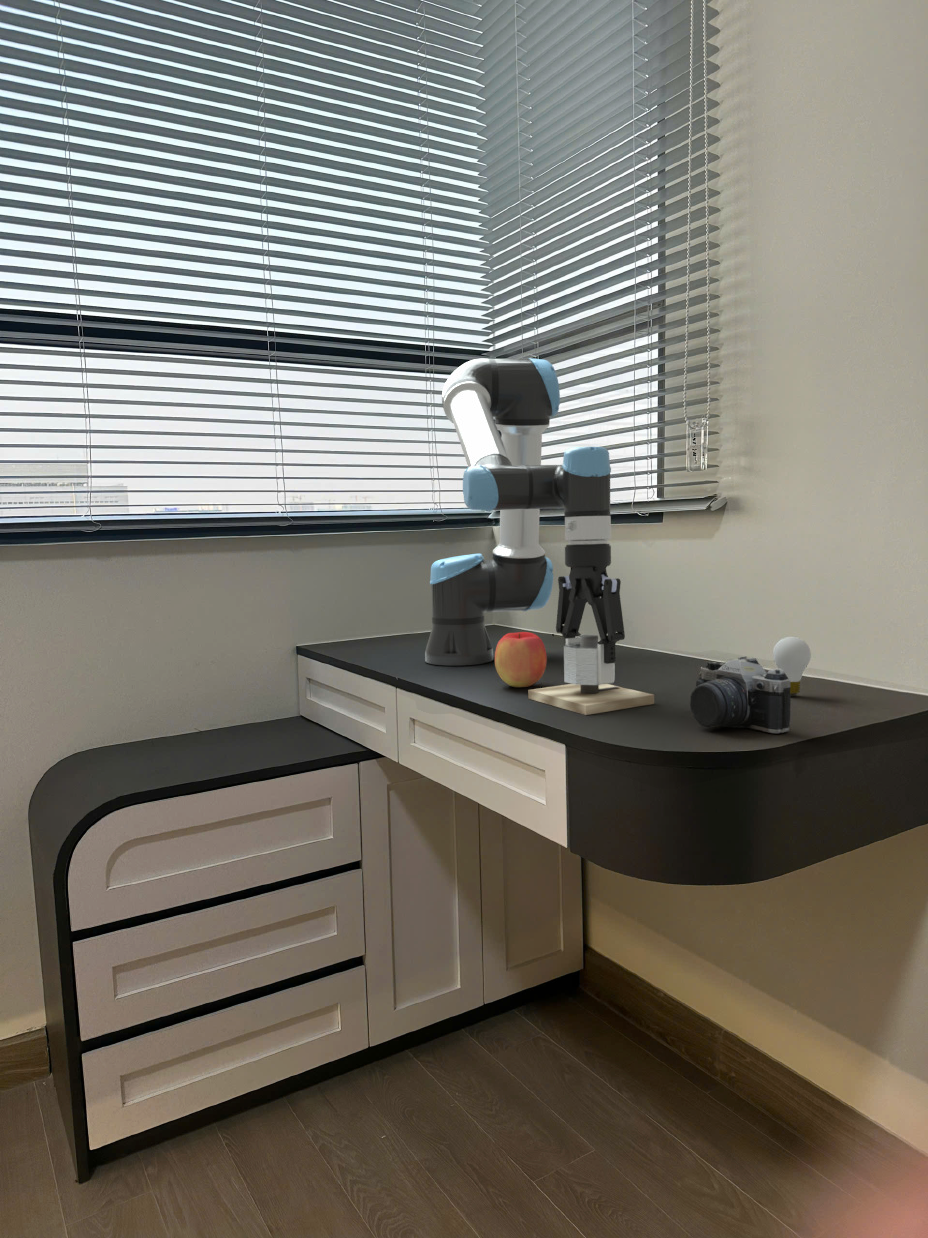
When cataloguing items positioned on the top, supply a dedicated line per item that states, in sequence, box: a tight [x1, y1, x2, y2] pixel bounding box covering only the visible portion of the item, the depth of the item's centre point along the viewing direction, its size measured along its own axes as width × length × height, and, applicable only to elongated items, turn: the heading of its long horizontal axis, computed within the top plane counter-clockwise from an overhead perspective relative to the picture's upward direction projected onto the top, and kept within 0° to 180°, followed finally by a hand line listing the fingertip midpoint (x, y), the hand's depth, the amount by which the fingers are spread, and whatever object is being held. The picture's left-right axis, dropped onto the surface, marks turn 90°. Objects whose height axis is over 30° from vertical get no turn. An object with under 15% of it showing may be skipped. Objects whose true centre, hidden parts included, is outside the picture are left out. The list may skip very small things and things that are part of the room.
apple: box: [494, 631, 548, 688], centre depth 159 cm, size 10×10×10 cm
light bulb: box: [772, 636, 812, 697], centre depth 143 cm, size 6×6×10 cm
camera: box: [689, 655, 791, 734], centre depth 124 cm, size 16×10×10 cm, turn 29°
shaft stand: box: [527, 634, 655, 716], centre depth 144 cm, size 16×14×11 cm
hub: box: [563, 642, 616, 685], centre depth 144 cm, size 8×8×6 cm
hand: (589, 679), depth 144 cm, fingers closed on hub, 8 cm apart
